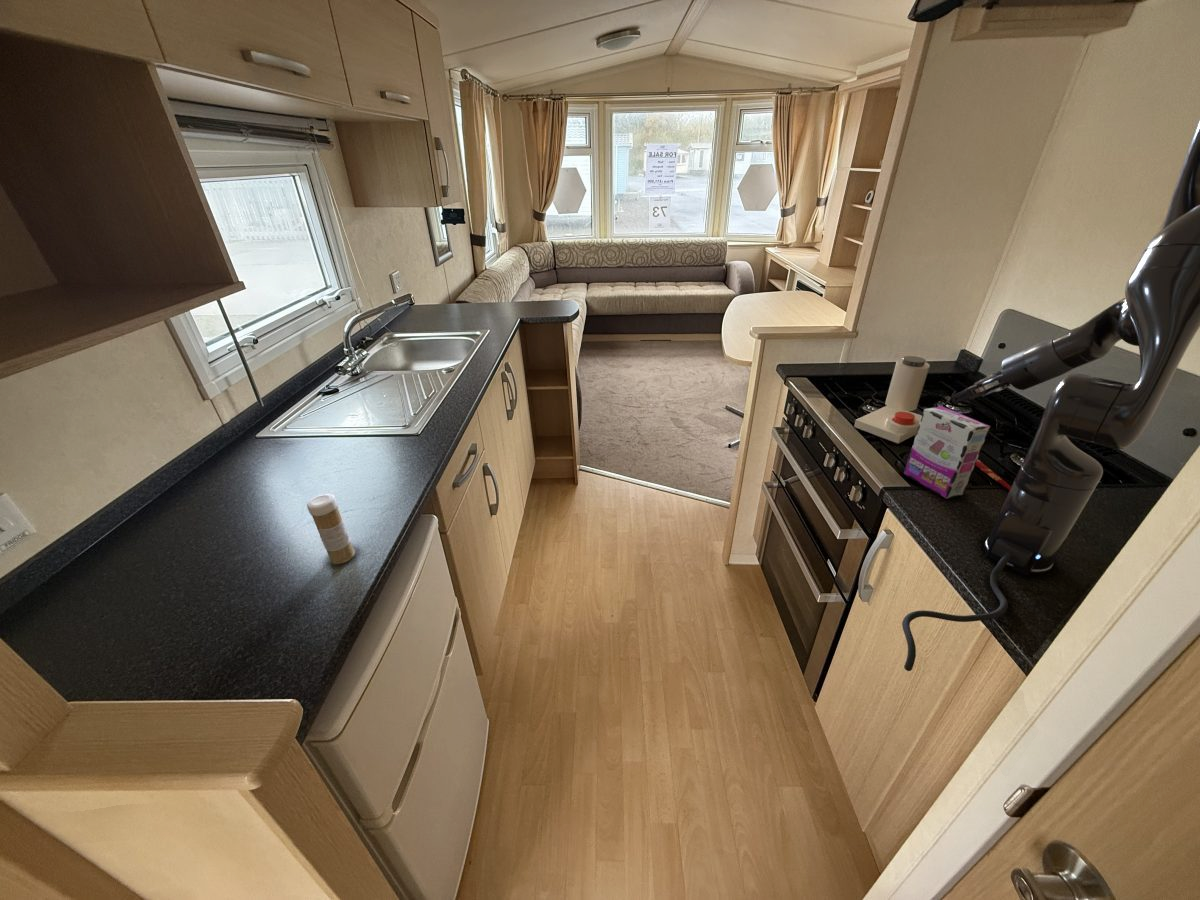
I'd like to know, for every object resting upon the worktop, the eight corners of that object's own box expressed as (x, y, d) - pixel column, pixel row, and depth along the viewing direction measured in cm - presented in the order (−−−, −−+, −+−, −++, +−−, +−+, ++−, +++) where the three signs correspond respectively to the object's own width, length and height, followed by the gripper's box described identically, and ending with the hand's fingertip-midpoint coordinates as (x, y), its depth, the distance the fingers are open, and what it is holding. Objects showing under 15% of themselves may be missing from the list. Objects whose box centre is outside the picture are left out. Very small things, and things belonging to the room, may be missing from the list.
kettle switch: (906, 427, 121) (909, 420, 120) (889, 421, 124) (891, 414, 123) (916, 423, 123) (918, 415, 122) (898, 417, 126) (900, 410, 125)
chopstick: (1023, 504, 98) (1024, 500, 97) (950, 447, 119) (951, 443, 118) (1032, 503, 98) (1034, 500, 97) (958, 446, 118) (959, 443, 118)
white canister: (907, 413, 127) (921, 366, 121) (879, 404, 133) (891, 358, 126) (922, 406, 131) (937, 359, 124) (894, 397, 136) (907, 352, 130)
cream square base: (902, 445, 120) (907, 431, 118) (853, 426, 130) (857, 413, 128) (935, 428, 128) (940, 414, 126) (886, 411, 138) (890, 398, 136)
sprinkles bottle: (335, 550, 94) (312, 493, 87) (359, 548, 94) (338, 491, 88) (326, 566, 90) (301, 508, 83) (351, 564, 90) (328, 506, 84)
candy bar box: (964, 495, 101) (992, 426, 93) (946, 500, 100) (973, 430, 92) (919, 469, 111) (941, 404, 103) (902, 473, 110) (923, 408, 101)
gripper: (1041, 341, 101) (958, 379, 116) (1013, 354, 95) (930, 393, 110) (1062, 372, 100) (975, 406, 115) (1035, 387, 94) (947, 421, 109)
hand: (953, 400), depth 112 cm, fingers closed
